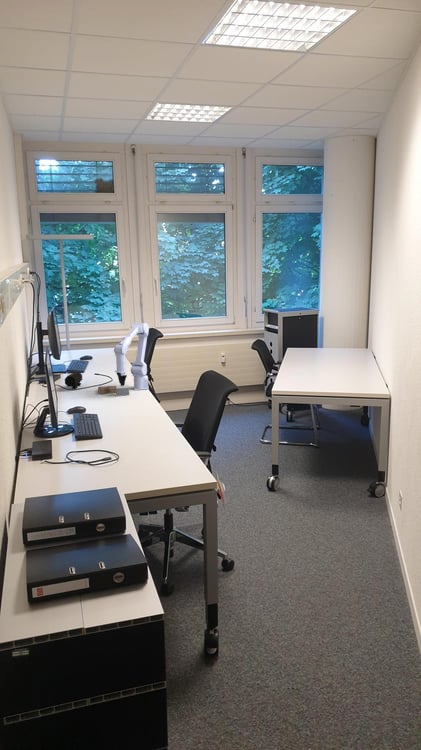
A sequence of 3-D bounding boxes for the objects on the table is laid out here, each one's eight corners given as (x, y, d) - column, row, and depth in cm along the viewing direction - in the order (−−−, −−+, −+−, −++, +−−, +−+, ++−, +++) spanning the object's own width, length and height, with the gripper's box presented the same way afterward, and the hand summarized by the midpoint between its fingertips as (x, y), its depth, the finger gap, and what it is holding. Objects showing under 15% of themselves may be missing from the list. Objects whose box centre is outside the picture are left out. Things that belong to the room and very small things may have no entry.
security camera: (84, 385, 377) (83, 371, 375) (75, 391, 359) (74, 376, 357) (74, 385, 378) (73, 371, 376) (65, 391, 360) (64, 376, 358)
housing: (128, 393, 352) (128, 386, 351) (129, 395, 348) (129, 387, 347) (115, 394, 350) (114, 387, 349) (116, 396, 346) (115, 388, 345)
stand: (116, 388, 366) (116, 385, 365) (118, 392, 354) (118, 389, 354) (98, 390, 363) (98, 386, 362) (99, 394, 351) (99, 390, 351)
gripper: (113, 362, 351) (114, 382, 354) (115, 366, 337) (116, 387, 340) (124, 361, 353) (125, 381, 355) (127, 365, 339) (128, 386, 342)
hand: (121, 384), depth 348 cm, fingers open, 7 cm apart
